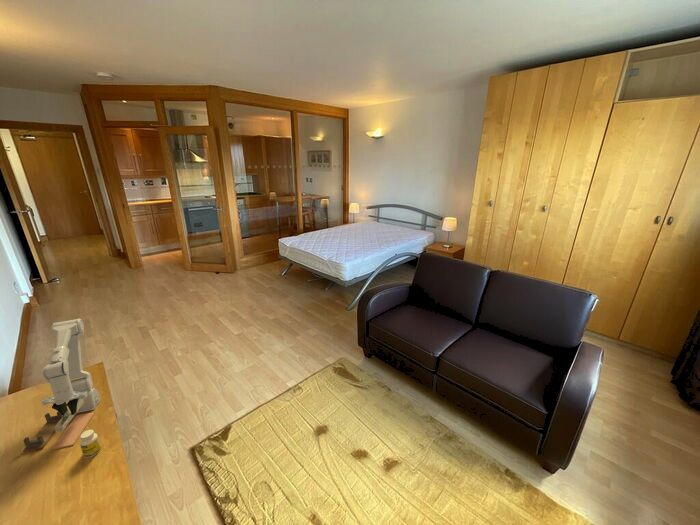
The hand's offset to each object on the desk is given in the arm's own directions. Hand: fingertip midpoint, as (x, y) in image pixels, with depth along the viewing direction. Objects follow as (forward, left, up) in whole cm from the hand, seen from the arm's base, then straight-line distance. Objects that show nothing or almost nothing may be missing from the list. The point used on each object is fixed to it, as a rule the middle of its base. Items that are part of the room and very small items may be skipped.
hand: (70, 413), depth 123 cm
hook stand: (+11, -1, -9) cm, 14 cm away
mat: (0, 0, -9) cm, 9 cm away
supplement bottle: (-12, +15, -9) cm, 22 cm away
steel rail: (0, 0, 0) cm, 0 cm away
